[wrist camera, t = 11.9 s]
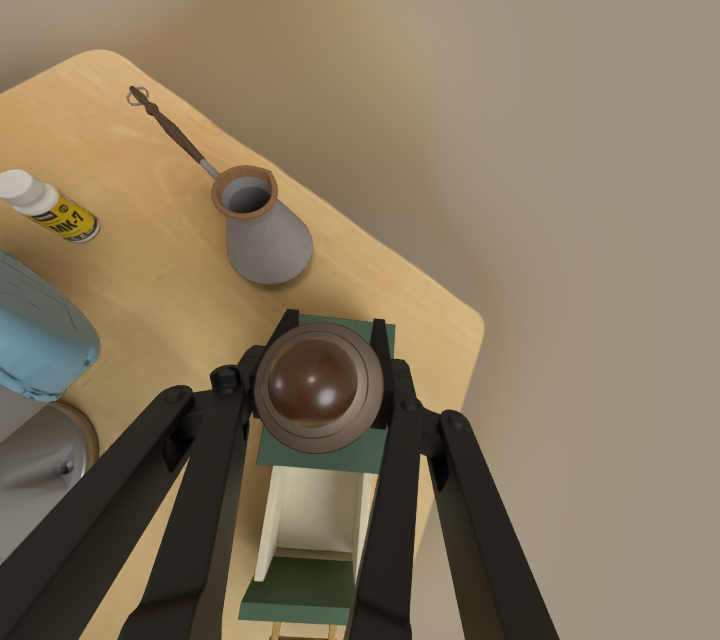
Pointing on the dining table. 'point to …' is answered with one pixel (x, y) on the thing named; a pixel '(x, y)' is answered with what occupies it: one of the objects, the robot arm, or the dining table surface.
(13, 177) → the supplement bottle
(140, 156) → the dining table surface
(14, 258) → the beverage bottle
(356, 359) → the pepper mill
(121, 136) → the dining table surface
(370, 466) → the cabinet
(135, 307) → the dining table surface
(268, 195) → the coffee pot
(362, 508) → the drawer
